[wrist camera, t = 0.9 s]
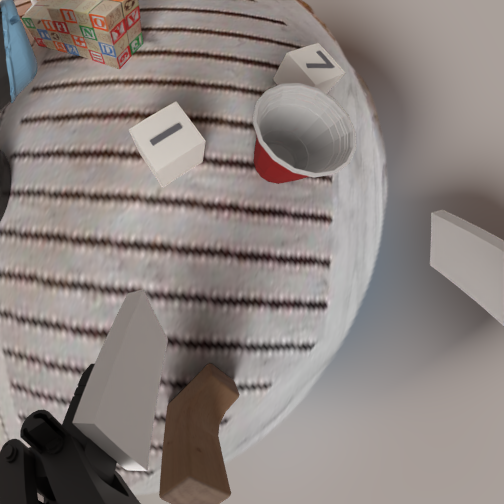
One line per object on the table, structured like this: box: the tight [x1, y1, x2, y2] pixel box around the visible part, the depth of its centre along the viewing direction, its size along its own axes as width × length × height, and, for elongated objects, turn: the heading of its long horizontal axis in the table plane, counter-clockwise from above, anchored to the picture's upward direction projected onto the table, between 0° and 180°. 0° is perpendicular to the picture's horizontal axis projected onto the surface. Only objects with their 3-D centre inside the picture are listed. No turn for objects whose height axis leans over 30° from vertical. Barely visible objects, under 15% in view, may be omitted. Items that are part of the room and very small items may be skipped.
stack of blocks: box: [22, 0, 143, 69], centre depth 25 cm, size 21×6×12 cm, turn 63°
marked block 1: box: [129, 102, 205, 188], centre depth 30 cm, size 6×6×7 cm
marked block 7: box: [273, 43, 345, 94], centre depth 34 cm, size 6×6×7 cm
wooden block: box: [159, 363, 239, 504], centre depth 25 cm, size 9×4×18 cm, turn 137°
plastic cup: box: [253, 83, 356, 184], centre depth 31 cm, size 11×11×12 cm
